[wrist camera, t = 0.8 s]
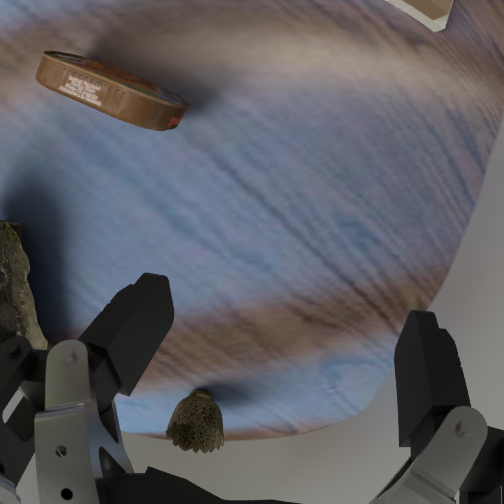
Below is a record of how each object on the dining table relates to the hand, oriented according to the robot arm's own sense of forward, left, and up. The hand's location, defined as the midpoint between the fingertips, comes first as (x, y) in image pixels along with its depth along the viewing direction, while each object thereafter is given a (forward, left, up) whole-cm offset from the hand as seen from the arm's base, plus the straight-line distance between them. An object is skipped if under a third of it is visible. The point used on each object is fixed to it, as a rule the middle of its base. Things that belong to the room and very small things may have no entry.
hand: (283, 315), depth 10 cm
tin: (-16, -2, -22) cm, 27 cm away
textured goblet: (+14, -28, -22) cm, 38 cm away
